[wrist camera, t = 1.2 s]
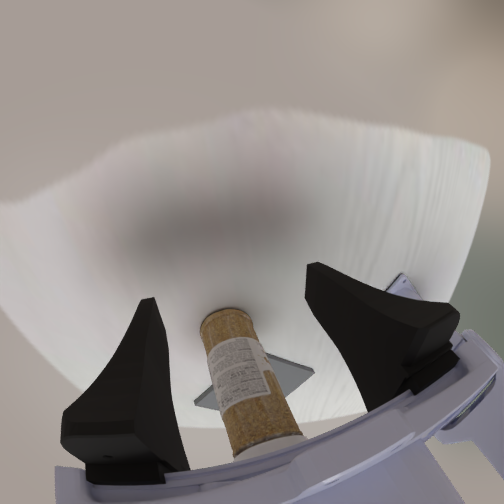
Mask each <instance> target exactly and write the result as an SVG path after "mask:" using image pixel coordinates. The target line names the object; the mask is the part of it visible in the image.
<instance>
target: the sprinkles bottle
mask: <svg viewBox="0 0 504 504" xmlns="http://www.w3.org/2000/svg"><path fill="white" fill-rule="evenodd" d="M200 336H201V339H202V341H203V343H204V346H205V350H206V354H207V363H208V367H209V372H210V376H211V380H212V384H213V388H214V392H215V395H216V399H217V403H218V407H219V410H220V414H221V417H222V420H223V422H224V424H225V427H226V430H227V434H228V437H229V440H230V444H231V447H232V450H233V457H234V458H235V459H234V461H233V462H237V461H241V460H245V459H249V458H253V457H257V456H260V455H264V454H267V453H270V452H274V451H277V450H280V449H283V448H286V447H289V446H292V445H295V444H298V443H300V442H303V441H306V440H308V439H307V438H306V437H305V436H303V433H302V432H301V431H300V430H299V427H298V425H297V423H296V421H295V419H294V417H293V415H292V412H291V410H290V408H289V406H288V404H287V401H286V399H285V397H284V395H283V392H282V389H281V386H280V384H279V382H278V380H277V378H276V375H275V373H274V371H273V369H272V366H271V364H270V362H269V360H268V357H267V355H266V353H265V351H264V349H263V346H262V345H261V343H260V342H259V340H258V337H257V335H256V333H255V331H254V328H253V323H252V320H251V319H250V317H249V316H248V315H247V314H246V313H244V312H242V311H240V310H234V309H225V310H222V311H219V312H216V313H214V314H212V315H210V316H209V317H207V318H206V320H205V321H204V322H203V324H202V326H201V329H200Z"/></svg>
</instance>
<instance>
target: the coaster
mask: <svg viewBox="0 0 504 504" xmlns="http://www.w3.org/2000/svg"><path fill="white" fill-rule="evenodd" d="M266 355H267V357H268V360H269V362H270V364H271V366H272V369H273V371H274V373H275V375H276V378H277V380H278V382H279V384H280V386H281V389H282V392H283V395H284V397H286V396H288V395H289V394H290V393H291V392H293V391H294V390H295V389H296V388H298V387H299V386H300V385H301V384H302V383H304V382H305V381H306V380H307V379H308V378H310V377H311V376H312V375H313V374H314V373H315V372H314V370H313V369H311V368H308V367H305V366H302V365H299V364H296V363H293V362H290V361H287V360H284V359H281V358H278V357H275V356H272V355H270V354H267V353H266ZM194 403H195V406H199V407H204V408H209V409H214V410H219V407H218V403H217V399H216V395H215V392H214V388H213V385H212V386H211V387H210V388H209V389H207V390H206V391H205V392H204V393H203V394H202V395H201V396H199V397H198V398H197V399H196V400H195V401H194ZM219 411H220V410H219Z"/></svg>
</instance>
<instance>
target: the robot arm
mask: <svg viewBox="0 0 504 504" xmlns="http://www.w3.org/2000/svg"><path fill="white" fill-rule="evenodd" d="M305 299H306V301H307V303H308V305H309V307H310V309H311V311H312V313H313V315H314V316H315V317H316V319H317V320H318V322H319V323H320V324H321V326H322V327H323V329H324V330H325V331H326V333H327V334H328V336H329V337H330V338H331V340H332V341H333V342H334V344H335V345H336V347H337V348H338V350H339V351H340V353H341V355H342V357H343V359H344V360H345V362H346V364H347V366H348V368H349V370H350V372H351V374H352V376H353V378H354V380H355V382H356V384H357V387H358V389H359V391H360V393H361V396H362V398H363V401H364V403H365V406H366V409H367V411H368V413H367V414H365V415H363V416H361V417H359V418H357V419H355V420H353V421H350V422H348V423H346V424H344V425H342V426H340V427H338V428H335V429H333V430H331V431H328V432H326V433H323V434H321V435H319V436H316V437H314V438H311V439H308V440H306V441H303V442H300V443H298V444H295V445H292V446H289V447H286V448H283V449H280V450H277V451H274V452H270V453H267V454H264V455H260V456H257V457H253V458H249V459H245V460H241V461H237V462H233V463H228V464H224V465H219V466H214V467H208V468H202V469H197V470H190V467H189V464H188V460H187V457H186V454H185V451H184V447H183V444H182V440H181V436H180V433H179V429H178V424H177V420H176V416H175V411H174V406H173V401H172V395H171V384H170V367H169V349H168V342H167V336H166V330H165V327H164V324H163V321H162V318H161V316H160V313H159V310H158V307H157V304H156V301H155V298H154V297H152V298H147V299H142V300H141V301H140V303H139V305H138V307H137V310H136V312H135V314H134V317H133V319H132V321H131V323H130V325H129V327H128V329H127V331H126V333H125V335H124V337H123V339H122V341H121V343H120V345H119V346H118V348H117V350H116V352H115V353H114V355H113V357H112V358H111V360H110V361H109V363H108V364H107V366H106V367H105V368H104V370H103V371H102V372H101V373H100V375H99V376H98V377H97V379H96V380H95V381H94V382H93V383H92V384H91V386H90V387H89V388H88V389H87V390H86V391H85V392H84V393H83V394H82V395H81V396H80V397H79V398H78V399H77V400H76V401H75V402H74V403H72V404H71V405H70V406H69V407H68V408H67V409H66V410H64V412H63V416H62V423H61V440H60V443H61V445H62V446H63V448H64V449H65V450H67V451H68V452H69V453H70V454H72V455H73V456H75V457H77V458H78V459H79V460H81V461H82V462H84V463H85V469H86V470H83V469H80V468H72V467H63V466H55V497H56V504H465V502H464V501H463V500H462V498H461V496H460V495H459V493H458V492H457V490H456V489H455V488H454V486H453V485H452V483H451V481H450V480H449V478H448V477H447V476H446V474H445V473H444V471H443V470H442V468H441V467H440V465H439V464H438V462H437V461H436V460H435V458H434V457H433V455H432V454H431V452H430V451H429V449H428V448H427V447H426V445H425V444H424V442H426V441H427V440H428V439H429V438H431V437H432V436H435V438H436V439H437V440H438V441H440V442H441V443H442V444H453V443H459V442H465V441H473V442H474V443H475V445H476V446H477V447H478V448H479V449H480V451H481V452H482V453H483V454H484V456H485V457H486V458H487V459H488V460H489V462H490V463H491V464H492V466H493V467H494V468H495V469H496V471H497V472H498V473H499V474H500V476H501V477H502V478H503V479H504V362H503V360H502V359H501V357H500V356H499V355H498V354H497V353H496V352H495V351H494V350H493V349H492V348H491V347H490V346H489V345H488V344H487V343H486V342H485V341H484V340H483V339H482V338H481V337H480V336H479V335H478V334H477V333H476V332H475V331H473V330H472V329H469V330H464V331H463V332H462V334H460V333H458V332H457V331H456V330H455V329H456V327H457V325H458V323H459V319H460V313H459V312H458V311H457V310H456V309H455V308H454V307H453V306H451V305H450V304H449V303H442V302H429V301H423V300H422V299H421V297H420V296H419V294H418V293H417V291H416V290H415V288H414V287H413V285H412V284H411V282H410V281H409V279H408V278H407V277H406V275H404V274H401V275H400V276H399V277H398V279H397V280H396V281H395V282H394V283H393V284H392V286H391V287H390V288H389V289H388V290H387V291H386V292H385V291H382V290H379V289H377V288H374V287H372V286H369V285H367V284H364V283H362V282H360V281H358V280H355V279H353V278H351V277H349V276H347V275H345V274H343V273H341V272H339V271H337V270H335V269H333V268H331V267H329V266H327V265H324V264H322V263H320V262H315V263H311V264H307V273H306V288H305ZM493 378H494V379H493ZM492 379H493V381H492V382H491V384H490V385H489V387H488V388H487V389H486V390H485V391H484V392H483V393H482V394H481V395H480V396H479V398H478V399H477V400H476V401H475V402H474V403H473V404H472V405H471V406H470V407H469V408H468V409H467V410H466V411H465V412H464V413H463V414H462V415H460V416H459V417H457V416H458V415H459V414H460V413H461V412H462V411H463V410H464V409H465V408H466V407H467V406H468V405H469V404H470V403H471V402H472V401H473V400H474V399H475V398H476V397H477V396H478V395H479V393H481V391H482V390H483V389H484V388H485V387H486V386H487V384H488V383H489V382H490V381H491V380H492ZM456 417H457V418H456Z"/></svg>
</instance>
